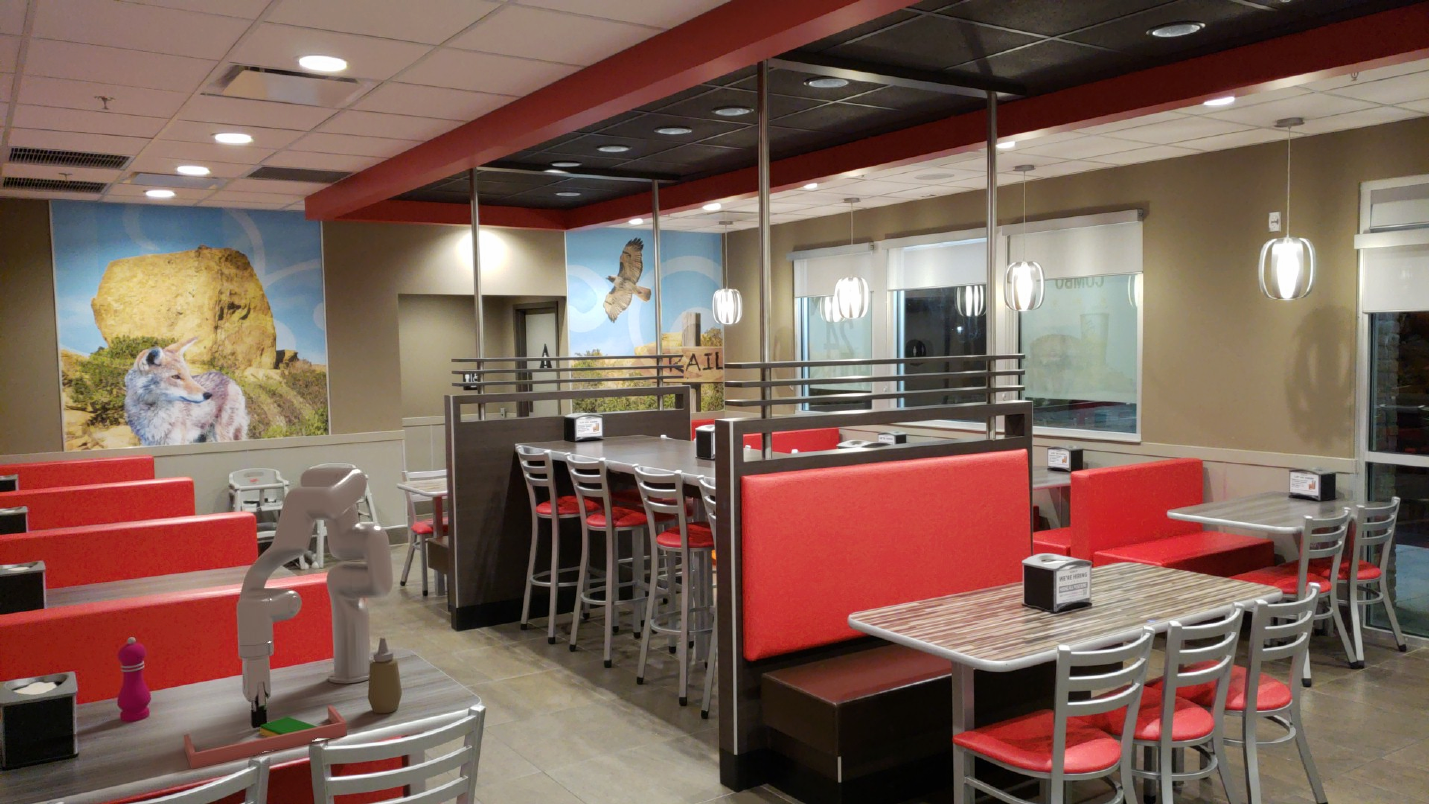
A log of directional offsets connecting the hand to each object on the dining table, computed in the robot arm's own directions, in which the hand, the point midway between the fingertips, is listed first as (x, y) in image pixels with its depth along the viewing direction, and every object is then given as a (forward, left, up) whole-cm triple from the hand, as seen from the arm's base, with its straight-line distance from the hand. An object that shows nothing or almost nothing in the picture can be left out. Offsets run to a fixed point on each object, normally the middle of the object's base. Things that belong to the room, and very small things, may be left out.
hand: (259, 725), depth 236 cm
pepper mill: (+24, -28, -1) cm, 37 cm away
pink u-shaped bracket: (0, +10, -1) cm, 10 cm away
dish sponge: (-5, +8, -2) cm, 10 cm away
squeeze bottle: (-28, +5, -1) cm, 28 cm away
